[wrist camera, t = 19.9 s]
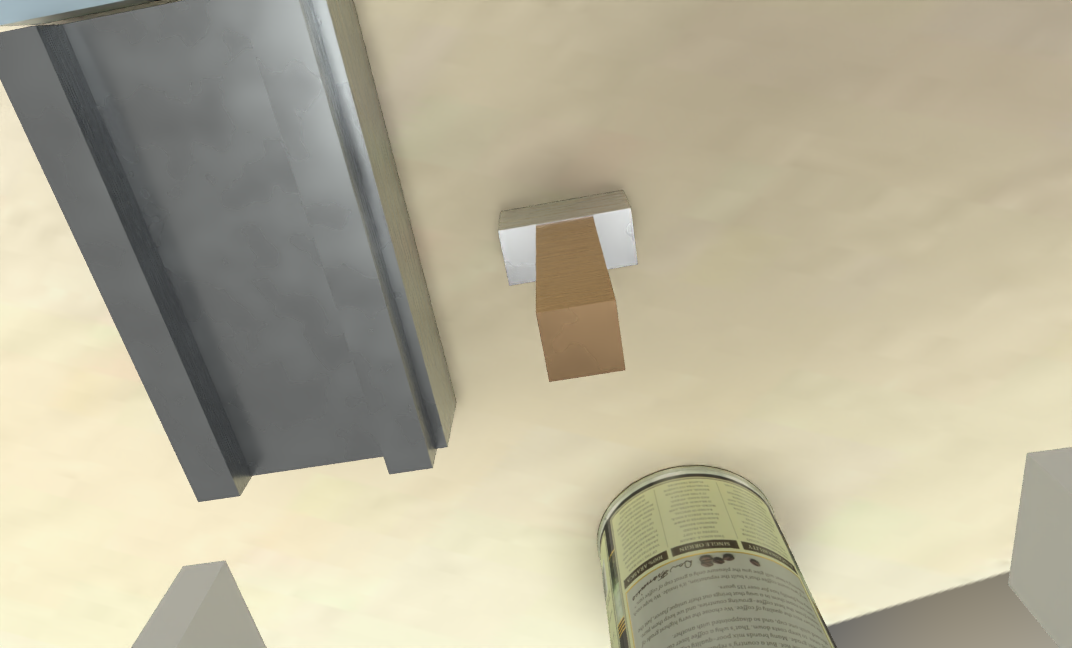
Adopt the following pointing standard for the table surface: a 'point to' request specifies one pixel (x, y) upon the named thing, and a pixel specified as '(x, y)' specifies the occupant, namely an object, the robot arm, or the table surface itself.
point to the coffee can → (702, 567)
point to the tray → (55, 9)
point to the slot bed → (242, 229)
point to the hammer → (572, 277)
